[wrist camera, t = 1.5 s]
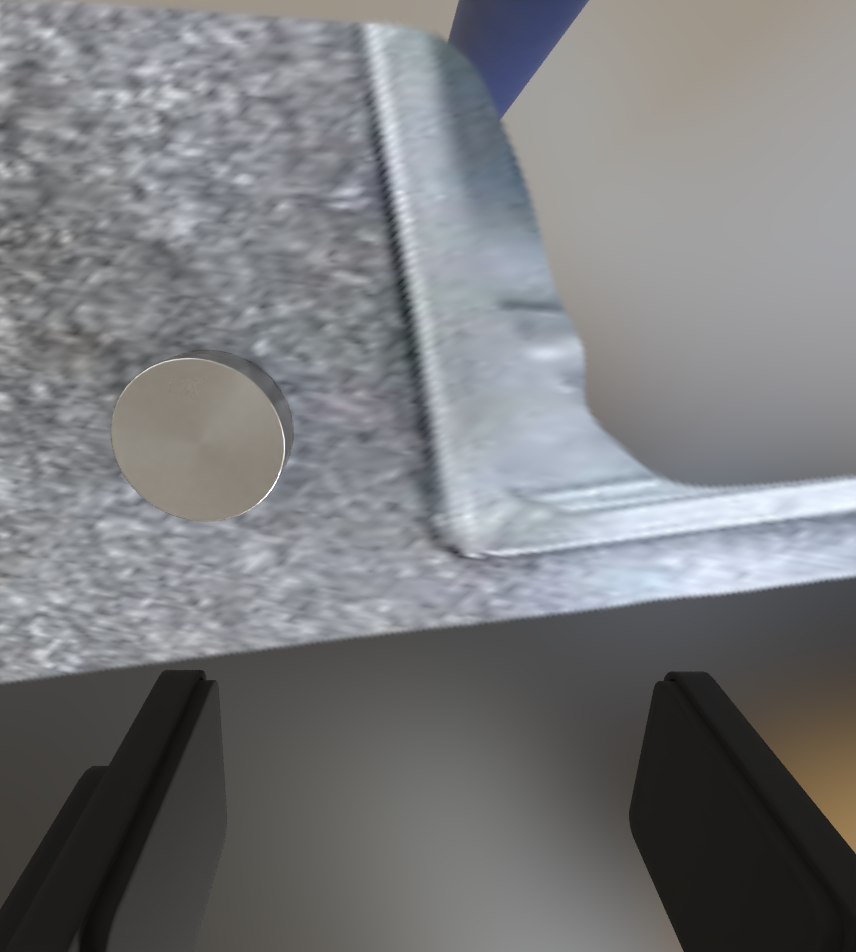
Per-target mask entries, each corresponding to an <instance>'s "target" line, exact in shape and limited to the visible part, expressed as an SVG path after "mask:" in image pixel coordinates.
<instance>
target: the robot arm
mask: <svg viewBox="0 0 856 952" xmlns="http://www.w3.org/2000/svg"><path fill="white" fill-rule="evenodd" d="M629 821H630V827H631V832H632V835H633V837H634V840H635V842H636V844H637V847H638V849H639V851H640V853H641V856H642V858H643V860H644V863H645V865H646V867H647V869H648V872H649V874H650V876H651V878H652V881H653V883H654V885H655V888H656V890H657V892H658V894H659V897H660V899H661V901H662V903H663V906H664V908H665V910H666V913H667V915H668V917H669V919H670V922H671V924H672V926H673V928H674V930H675V933H676V935H677V938H678V940H679V942H680V944H681V947H682V949H683V951H684V952H856V854H855V852H854V851H853V850H852V849H851V848H850V846H849V845H848V844H847V843H846V841H845V840H844V839H843V838H842V837H841V835H840V834H839V833H838V832H837V831H836V829H835V828H834V827H833V826H832V824H831V823H830V822H829V820H828V819H827V818H826V817H825V816H824V814H823V813H822V812H821V811H820V809H819V808H818V807H817V806H816V804H815V803H814V802H813V801H812V800H811V798H810V797H809V796H808V795H807V793H806V792H805V791H804V790H803V788H802V787H801V786H800V785H799V784H798V782H797V781H796V780H795V779H794V777H793V776H792V775H791V774H790V772H789V771H788V770H787V769H786V768H785V766H784V765H783V764H782V763H781V761H780V760H779V759H778V758H777V757H776V755H775V754H774V753H773V751H772V750H771V749H770V748H769V747H768V745H767V744H766V743H765V742H764V740H763V739H762V738H761V737H760V735H759V734H758V733H757V732H756V731H755V729H754V728H753V727H752V726H751V724H750V723H749V722H748V721H747V719H746V718H745V717H744V716H743V715H742V713H741V712H740V711H739V710H738V709H737V707H736V706H735V705H734V704H733V702H732V701H731V700H730V698H729V697H728V696H727V695H726V694H725V692H724V691H723V690H722V689H721V688H720V686H719V685H718V684H717V683H716V681H715V680H714V679H713V678H712V677H711V676H710V675H709V674H708V673H706V672H669V673H667V675H666V676H665V678H664V681H658V682H657V683H656V684H655V687H654V690H653V696H652V700H651V705H650V710H649V715H648V720H647V725H646V731H645V735H644V740H643V745H642V750H641V755H640V760H639V765H638V770H637V775H636V780H635V785H634V790H633V795H632V800H631V805H630V810H629ZM226 828H227V807H226V791H225V777H224V763H223V747H222V731H221V717H220V701H219V688H218V683H217V681H216V680H206V675H205V672H204V671H202V670H165V671H163V672H162V673H161V675H160V676H159V678H158V680H157V681H156V683H155V685H154V687H153V688H152V690H151V692H150V694H149V695H148V697H147V699H146V701H145V703H144V704H143V706H142V708H141V710H140V711H139V713H138V715H137V717H136V718H135V720H134V722H133V724H132V726H131V727H130V729H129V731H128V733H127V735H126V736H125V738H124V740H123V742H122V744H121V745H120V747H119V749H118V750H117V752H116V754H115V756H114V758H113V759H112V761H111V763H110V765H109V766H92V767H91V768H89V769H88V770H87V771H85V773H84V774H83V776H82V777H81V778H80V779H79V781H78V783H77V784H76V786H75V788H74V789H73V791H72V792H71V794H70V796H69V797H68V799H67V801H66V802H65V804H64V806H63V807H62V809H61V810H60V812H59V814H58V816H57V817H56V819H55V820H54V822H53V824H52V825H51V827H50V829H49V830H48V832H47V834H46V835H45V837H44V838H43V840H42V842H41V843H40V845H39V847H38V848H37V850H36V852H35V853H34V855H33V857H32V859H31V860H30V862H29V863H28V865H27V867H26V868H25V870H24V872H23V873H22V875H21V876H20V878H19V880H18V881H17V883H16V885H15V886H14V888H13V890H12V891H11V893H10V895H9V896H8V898H7V900H6V901H5V903H4V904H3V906H2V908H1V909H0V952H193V951H194V948H195V944H196V940H197V937H198V934H199V930H200V927H201V923H202V919H203V916H204V913H205V909H206V905H207V902H208V898H209V895H210V891H211V888H212V884H213V881H214V877H215V874H216V870H217V867H218V863H219V860H220V856H221V852H222V849H223V845H224V841H225V836H226Z"/></svg>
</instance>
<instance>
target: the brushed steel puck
mask: <svg viewBox="0 0 856 952" xmlns="http://www.w3.org/2000/svg"><path fill="white" fill-rule="evenodd" d="M111 441H112V448H113V451H114V455H115V458H116V461H117V463H118V466H119V468H120V470H121V471H122V473H123V475H124V477H125V478H126V480H127V481H128V482H129V484H130V485H131V486H132V487H133V488H134V489H135V490H136V492H137V493H138V494H139V495H140V496H142V497H143V498H144V499H145V500H146V501H148V502H149V503H151V504H152V505H154V506H155V507H157V508H158V509H160V510H162V511H164V512H166V513H168V514H171V515H174V516H177V517H180V518H184V519H188V520H195V521H218V520H224V519H229V518H233V517H235V516H238V515H241V514H243V513H245V512H247V511H248V510H250V509H252V508H253V507H255V506H256V505H257V504H259V503H260V502H261V501H262V500H263V499H264V498H265V497H266V496H267V495H268V494H269V493H270V491H271V490H272V489H273V487H274V486H275V484H276V482H277V480H278V479H279V477H280V475H281V473H282V471H283V469H284V467H285V465H286V463H287V461H288V458H289V456H290V453H291V449H292V444H293V422H292V417H291V413H290V410H289V407H288V404H287V402H286V400H285V398H284V396H283V394H282V393H281V391H280V389H279V388H278V387H277V385H276V384H275V383H274V382H273V380H272V379H271V378H270V377H269V376H268V375H267V374H266V373H265V372H263V371H262V370H261V369H259V368H258V367H257V366H255V365H254V364H252V363H250V362H249V361H247V360H245V359H243V358H240V357H238V356H236V355H232V354H229V353H226V352H220V351H211V350H201V351H192V352H188V353H183V354H180V355H178V356H175V357H173V358H170V359H168V360H165V361H162V362H160V363H157V364H155V365H152V366H151V367H149V368H147V369H145V370H144V371H142V372H141V373H140V374H138V375H137V376H136V377H134V378H133V380H132V381H131V382H130V383H129V384H128V385H127V386H126V387H125V389H124V390H123V392H122V393H121V395H120V397H119V399H118V401H117V403H116V405H115V409H114V412H113V416H112V422H111Z"/></svg>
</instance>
